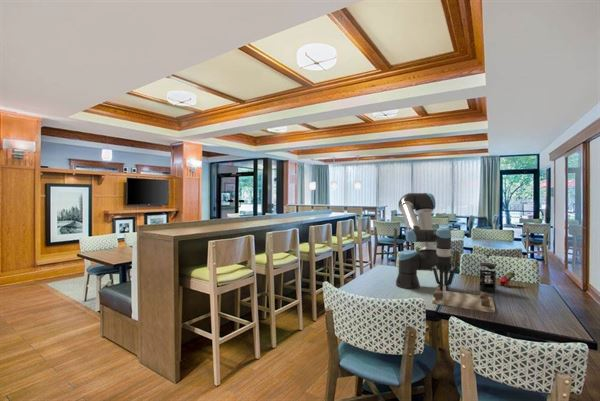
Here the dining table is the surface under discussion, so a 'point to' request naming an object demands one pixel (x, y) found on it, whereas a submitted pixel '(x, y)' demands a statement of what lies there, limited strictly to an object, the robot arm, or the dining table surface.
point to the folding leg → (438, 293)
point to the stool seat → (467, 301)
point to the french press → (483, 282)
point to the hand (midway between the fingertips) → (443, 296)
